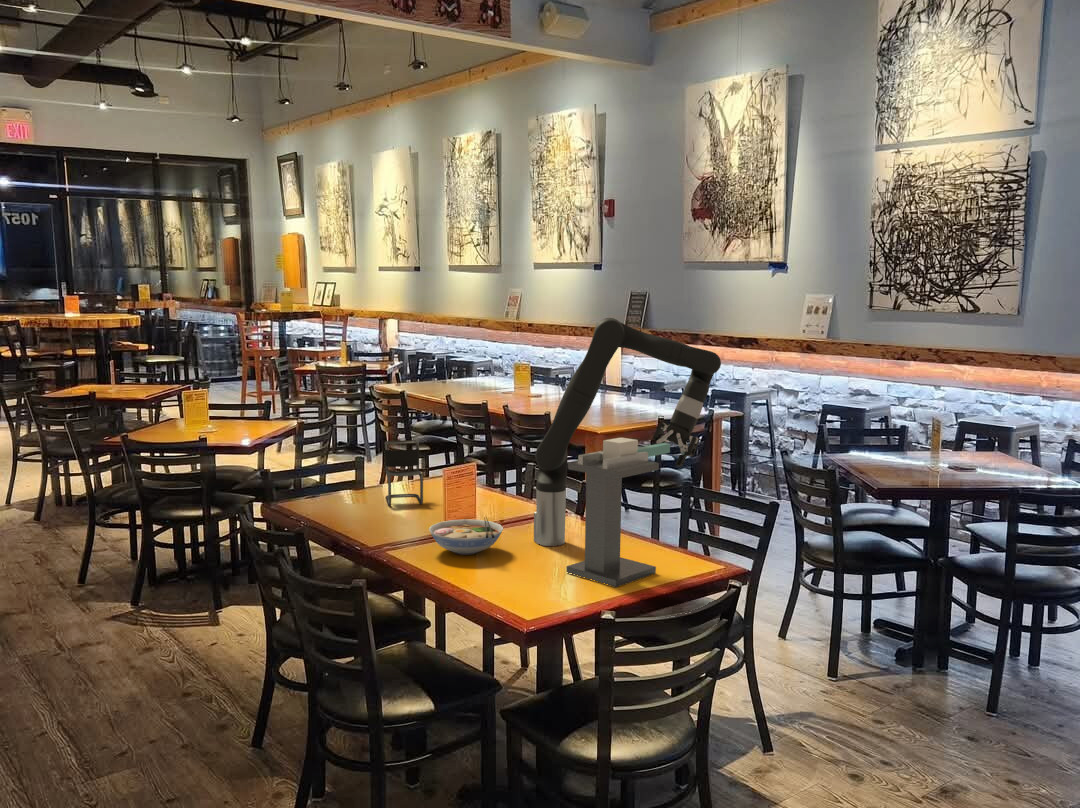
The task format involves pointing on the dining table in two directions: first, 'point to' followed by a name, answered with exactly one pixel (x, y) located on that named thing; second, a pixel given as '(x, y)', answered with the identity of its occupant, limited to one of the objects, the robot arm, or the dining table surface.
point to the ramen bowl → (466, 535)
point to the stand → (608, 517)
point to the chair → (402, 461)
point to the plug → (631, 448)
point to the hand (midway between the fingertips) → (666, 461)
